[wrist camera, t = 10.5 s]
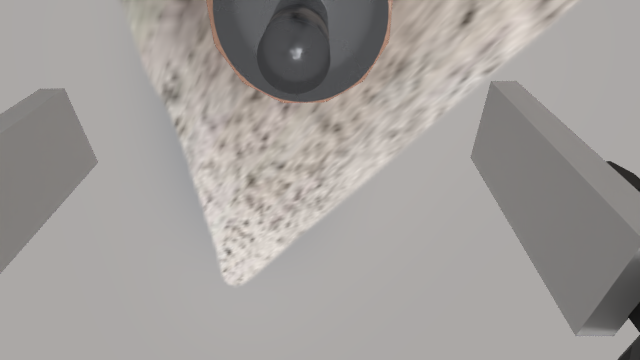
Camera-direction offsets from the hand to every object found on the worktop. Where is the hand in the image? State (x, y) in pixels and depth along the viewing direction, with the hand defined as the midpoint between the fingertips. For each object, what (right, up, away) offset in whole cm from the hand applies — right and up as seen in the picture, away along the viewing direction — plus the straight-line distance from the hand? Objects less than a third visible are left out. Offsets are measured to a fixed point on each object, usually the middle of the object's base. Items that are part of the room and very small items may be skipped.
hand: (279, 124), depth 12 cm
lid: (0, +9, +13) cm, 16 cm away
